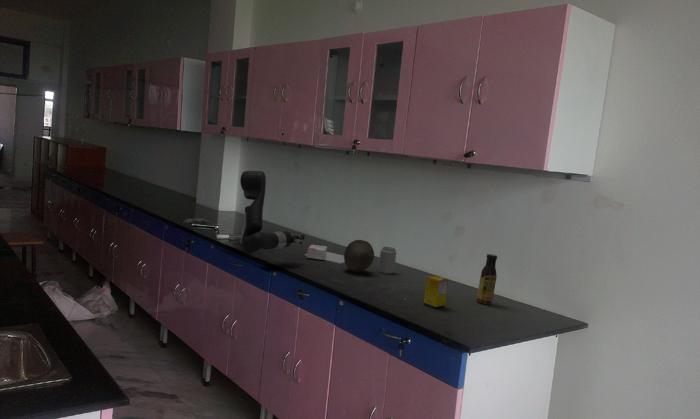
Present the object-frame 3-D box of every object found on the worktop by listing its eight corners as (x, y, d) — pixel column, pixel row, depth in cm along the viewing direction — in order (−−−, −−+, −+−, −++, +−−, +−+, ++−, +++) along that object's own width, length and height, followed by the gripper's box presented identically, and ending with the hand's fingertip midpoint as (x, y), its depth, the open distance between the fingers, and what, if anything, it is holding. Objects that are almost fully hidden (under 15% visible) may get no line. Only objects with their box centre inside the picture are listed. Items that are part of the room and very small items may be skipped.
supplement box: (432, 303, 208) (436, 275, 207) (445, 307, 204) (448, 279, 203) (422, 304, 204) (426, 276, 203) (435, 309, 200) (438, 280, 199)
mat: (303, 255, 274) (304, 254, 274) (324, 252, 289) (324, 251, 289) (339, 263, 263) (339, 262, 262) (359, 260, 278) (359, 259, 278)
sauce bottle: (481, 305, 213) (488, 255, 211) (473, 300, 219) (480, 252, 217) (495, 305, 215) (502, 256, 213) (487, 301, 221) (494, 253, 219)
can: (382, 269, 260) (385, 245, 259) (396, 273, 256) (399, 248, 255) (375, 271, 253) (378, 246, 252) (389, 275, 250) (392, 249, 248)
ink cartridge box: (307, 248, 265) (311, 243, 279) (306, 257, 265) (310, 252, 280) (324, 250, 264) (328, 245, 279) (323, 260, 265) (326, 254, 279)
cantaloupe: (336, 271, 244) (340, 239, 243) (349, 267, 257) (353, 236, 256) (365, 277, 239) (369, 244, 237) (377, 273, 251) (380, 241, 250)
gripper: (292, 234, 234) (315, 231, 249) (268, 228, 241) (293, 226, 256) (290, 251, 235) (313, 247, 250) (267, 245, 242) (291, 242, 257)
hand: (303, 237), depth 253 cm, fingers closed
